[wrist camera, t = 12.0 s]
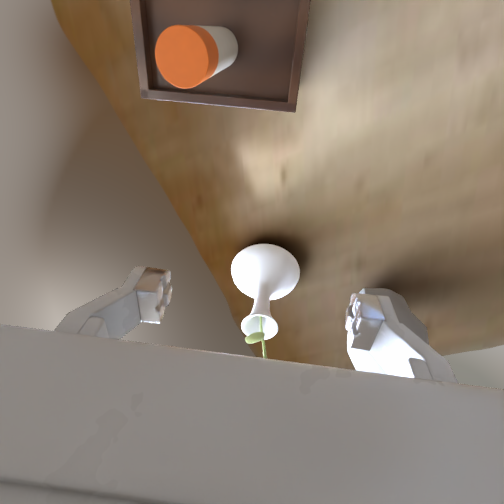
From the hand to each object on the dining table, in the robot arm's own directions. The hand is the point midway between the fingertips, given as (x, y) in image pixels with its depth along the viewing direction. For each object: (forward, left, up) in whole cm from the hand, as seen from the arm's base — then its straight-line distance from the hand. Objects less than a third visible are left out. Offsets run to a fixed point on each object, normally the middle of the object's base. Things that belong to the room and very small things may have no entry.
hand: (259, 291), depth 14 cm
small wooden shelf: (-4, -9, -33) cm, 35 cm away
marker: (-4, -9, -21) cm, 23 cm away
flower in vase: (+20, +14, -33) cm, 41 cm away
